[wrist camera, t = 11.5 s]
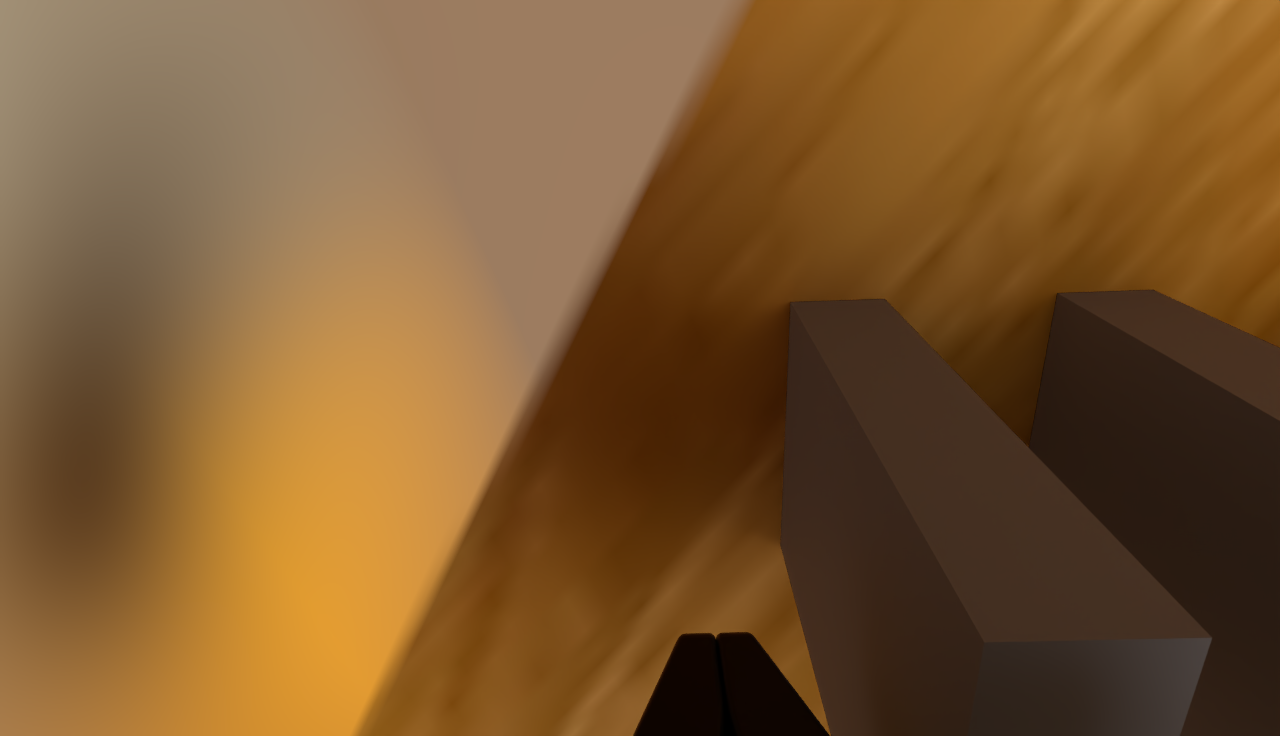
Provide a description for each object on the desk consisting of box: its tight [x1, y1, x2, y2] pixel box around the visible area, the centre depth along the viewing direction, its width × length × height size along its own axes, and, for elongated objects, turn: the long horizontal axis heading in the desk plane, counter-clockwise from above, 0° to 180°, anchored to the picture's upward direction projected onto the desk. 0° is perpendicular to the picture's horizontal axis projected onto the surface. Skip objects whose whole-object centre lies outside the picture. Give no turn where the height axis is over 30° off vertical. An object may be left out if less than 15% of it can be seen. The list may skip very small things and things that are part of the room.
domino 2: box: [1029, 290, 1280, 736], centre depth 10 cm, size 5×2×8 cm, turn 2°
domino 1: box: [781, 299, 1212, 736], centre depth 10 cm, size 5×2×8 cm, turn 2°
